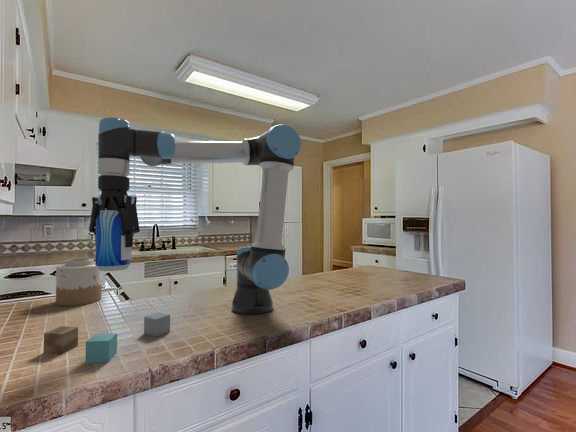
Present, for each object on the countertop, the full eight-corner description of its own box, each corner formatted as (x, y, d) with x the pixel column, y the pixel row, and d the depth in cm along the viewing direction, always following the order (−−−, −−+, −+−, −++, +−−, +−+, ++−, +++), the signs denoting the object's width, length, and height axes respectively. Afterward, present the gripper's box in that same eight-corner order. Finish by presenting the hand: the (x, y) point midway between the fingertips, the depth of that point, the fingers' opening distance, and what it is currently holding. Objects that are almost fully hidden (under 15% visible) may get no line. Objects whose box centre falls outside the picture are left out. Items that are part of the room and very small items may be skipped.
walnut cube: (77, 346, 82) (78, 326, 82) (62, 354, 77) (62, 333, 77) (60, 345, 83) (60, 326, 83) (43, 353, 78) (43, 333, 78)
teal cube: (117, 353, 78) (117, 332, 78) (109, 362, 73) (109, 340, 73) (95, 354, 77) (95, 334, 77) (85, 363, 72) (85, 341, 72)
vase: (46, 303, 123) (47, 260, 123) (84, 295, 137) (85, 256, 137) (72, 308, 117) (73, 263, 117) (109, 298, 131) (110, 258, 131)
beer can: (105, 266, 90) (105, 211, 90) (135, 266, 91) (135, 211, 91) (88, 271, 82) (89, 210, 82) (122, 271, 82) (123, 210, 83)
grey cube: (170, 331, 93) (170, 314, 93) (155, 337, 89) (155, 319, 89) (158, 328, 95) (159, 312, 96) (144, 333, 91) (144, 316, 91)
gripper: (154, 176, 86) (154, 258, 86) (98, 179, 94) (97, 255, 93) (132, 172, 79) (132, 262, 79) (73, 176, 87) (72, 258, 86)
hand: (113, 258), depth 86 cm, fingers closed on beer can, 8 cm apart
